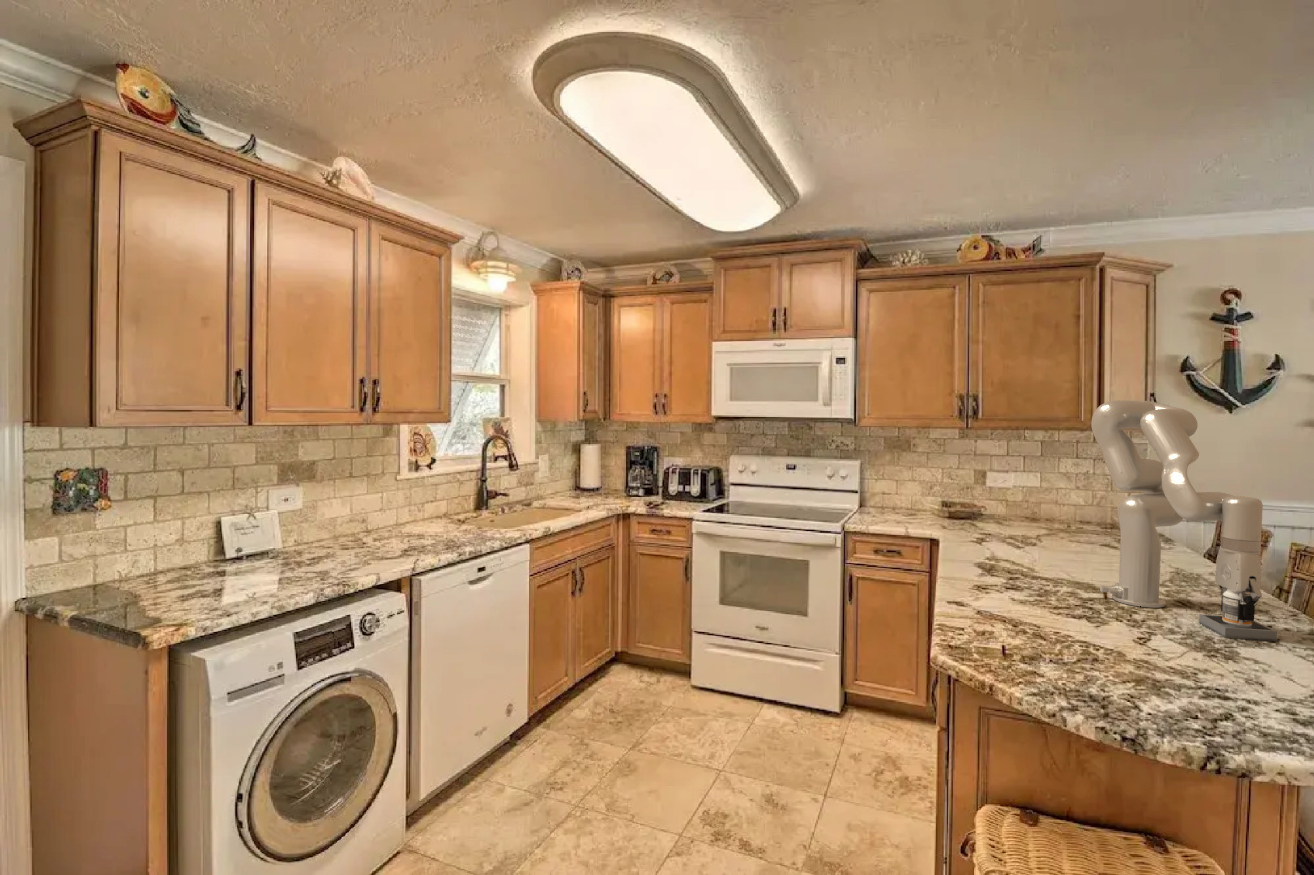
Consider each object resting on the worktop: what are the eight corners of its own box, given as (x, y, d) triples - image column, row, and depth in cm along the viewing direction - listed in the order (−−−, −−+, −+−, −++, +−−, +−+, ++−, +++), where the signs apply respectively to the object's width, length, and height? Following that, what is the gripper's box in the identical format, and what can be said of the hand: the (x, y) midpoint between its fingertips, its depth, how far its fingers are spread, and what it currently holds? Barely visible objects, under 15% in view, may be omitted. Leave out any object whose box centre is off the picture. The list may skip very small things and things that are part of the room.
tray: (1224, 637, 159) (1225, 627, 159) (1199, 623, 170) (1199, 614, 169) (1276, 641, 157) (1277, 631, 157) (1247, 626, 167) (1247, 617, 167)
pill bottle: (1244, 621, 165) (1246, 583, 164) (1257, 628, 159) (1259, 588, 159) (1217, 618, 167) (1219, 580, 166) (1228, 625, 161) (1230, 586, 161)
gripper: (1202, 538, 171) (1199, 605, 172) (1245, 552, 155) (1242, 626, 155) (1235, 539, 170) (1232, 607, 170) (1282, 553, 153) (1279, 628, 154)
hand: (1237, 615), depth 163 cm, fingers closed on pill bottle, 5 cm apart
